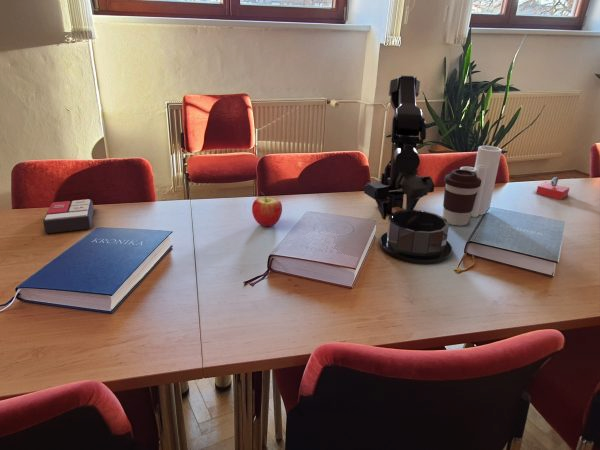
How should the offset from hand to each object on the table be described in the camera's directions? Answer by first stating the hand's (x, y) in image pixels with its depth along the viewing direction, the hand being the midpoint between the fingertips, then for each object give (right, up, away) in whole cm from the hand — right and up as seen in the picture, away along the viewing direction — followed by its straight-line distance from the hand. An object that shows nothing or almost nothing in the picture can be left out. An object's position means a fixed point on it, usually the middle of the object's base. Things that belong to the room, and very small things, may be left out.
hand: (396, 217), depth 121 cm
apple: (-36, -2, +5) cm, 36 cm away
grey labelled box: (-91, -1, +4) cm, 91 cm away
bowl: (+3, -6, -5) cm, 9 cm away
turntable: (+4, -8, -6) cm, 10 cm away
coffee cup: (+20, -1, +11) cm, 23 cm away
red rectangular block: (+62, +8, +35) cm, 72 cm away
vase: (+27, +2, +18) cm, 33 cm away
